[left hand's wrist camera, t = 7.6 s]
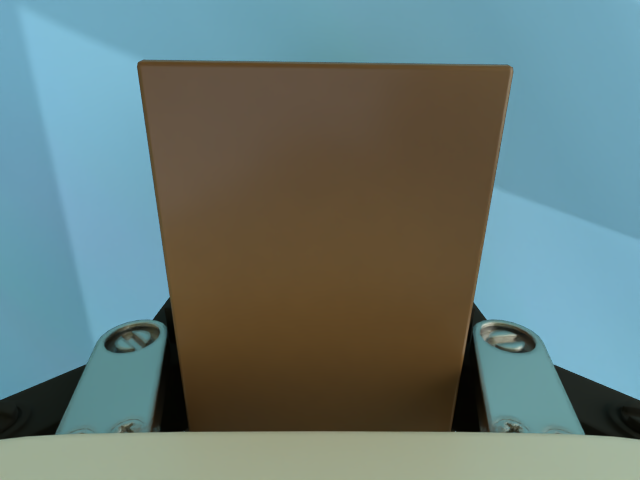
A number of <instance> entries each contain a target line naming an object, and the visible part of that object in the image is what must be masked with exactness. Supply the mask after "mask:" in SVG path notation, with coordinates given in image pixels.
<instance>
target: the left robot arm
mask: <svg viewBox="0 0 640 480" xmlns="http://www.w3.org/2000/svg"><path fill="white" fill-rule="evenodd" d="M455 431H456V432H455ZM0 480H640V400H637V399H635V398H633V397H630V396H628V395H625V394H623V393H621V392H618V391H616V390H613V389H611V388H609V387H606V386H604V385H601V384H599V383H597V382H594V381H592V380H589V379H587V378H585V377H582V376H580V375H577V374H575V373H573V372H570V371H568V370H565V369H563V368H561V367H558V366H556V365H553V363H552V361H551V358H550V356H549V354H548V352H547V350H546V347H545V345H544V343H543V341H542V340H541V339H540V337H539V336H538V335H536V334H535V333H534V332H533V331H531V330H529V329H528V328H526V327H524V326H521V325H519V324H516V323H513V322H509V321H504V320H486V318H485V317H484V316H483V314H482V313H481V312H480V310H479V309H478V308H477V306H476V305H475V304H474V302H473V307H472V312H471V318H470V324H469V330H468V336H467V341H466V347H465V353H464V359H463V364H462V370H461V376H460V382H459V387H458V393H457V399H456V405H455V410H454V416H453V422H452V428H451V432H363V431H277V432H189V428H188V421H187V414H186V407H185V400H184V393H183V386H182V379H181V371H180V364H179V357H178V350H177V343H176V336H175V329H174V322H173V315H172V308H171V301H170V297H169V299H168V300H167V301H166V303H165V304H164V305H163V307H162V308H161V309H160V311H159V312H158V313H157V315H156V316H155V317H154V319H153V320H136V321H131V322H127V323H124V324H121V325H119V326H116V327H114V328H112V329H111V330H109V331H107V332H106V333H105V334H104V335H102V336H101V337H100V339H99V340H98V341H97V343H96V345H95V347H94V350H93V352H92V354H91V356H90V358H89V361H88V363H87V364H86V365H84V366H81V367H79V368H76V369H74V370H72V371H69V372H67V373H64V374H62V375H60V376H57V377H55V378H52V379H50V380H48V381H45V382H43V383H41V384H38V385H36V386H33V387H31V388H29V389H26V390H24V391H21V392H19V393H17V394H14V395H12V396H9V397H7V398H5V399H2V400H0Z"/></svg>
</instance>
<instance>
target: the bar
mask: <svg viewBox="0 0 640 480" xmlns="http://www.w3.org/2000/svg"><path fill="white" fill-rule="evenodd" d="M137 69H138V76H139V83H140V90H141V98H142V105H143V112H144V119H145V126H146V133H147V140H148V147H149V154H150V161H151V168H152V175H153V182H154V189H155V196H156V203H157V210H158V217H159V224H160V231H161V238H162V245H163V252H164V259H165V266H166V273H167V280H168V287H169V294H170V301H171V308H172V315H173V322H174V329H175V336H176V343H177V350H178V357H179V364H180V371H181V379H182V386H183V393H184V400H185V407H186V414H187V421H188V428H189V432H277V431H363V432H451V428H452V422H453V416H454V410H455V405H456V399H457V393H458V387H459V382H460V376H461V370H462V364H463V359H464V353H465V347H466V341H467V336H468V330H469V324H470V318H471V312H472V307H473V301H474V295H475V289H476V284H477V278H478V272H479V266H480V261H481V255H482V249H483V243H484V238H485V232H486V226H487V220H488V215H489V209H490V203H491V197H492V192H493V186H494V180H495V174H496V169H497V163H498V157H499V151H500V146H501V140H502V134H503V128H504V122H505V117H506V111H507V105H508V99H509V94H510V88H511V82H512V76H513V67H511V66H509V65H490V64H416V63H342V62H268V61H194V60H142V61H139V62H138V65H137Z"/></svg>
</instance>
